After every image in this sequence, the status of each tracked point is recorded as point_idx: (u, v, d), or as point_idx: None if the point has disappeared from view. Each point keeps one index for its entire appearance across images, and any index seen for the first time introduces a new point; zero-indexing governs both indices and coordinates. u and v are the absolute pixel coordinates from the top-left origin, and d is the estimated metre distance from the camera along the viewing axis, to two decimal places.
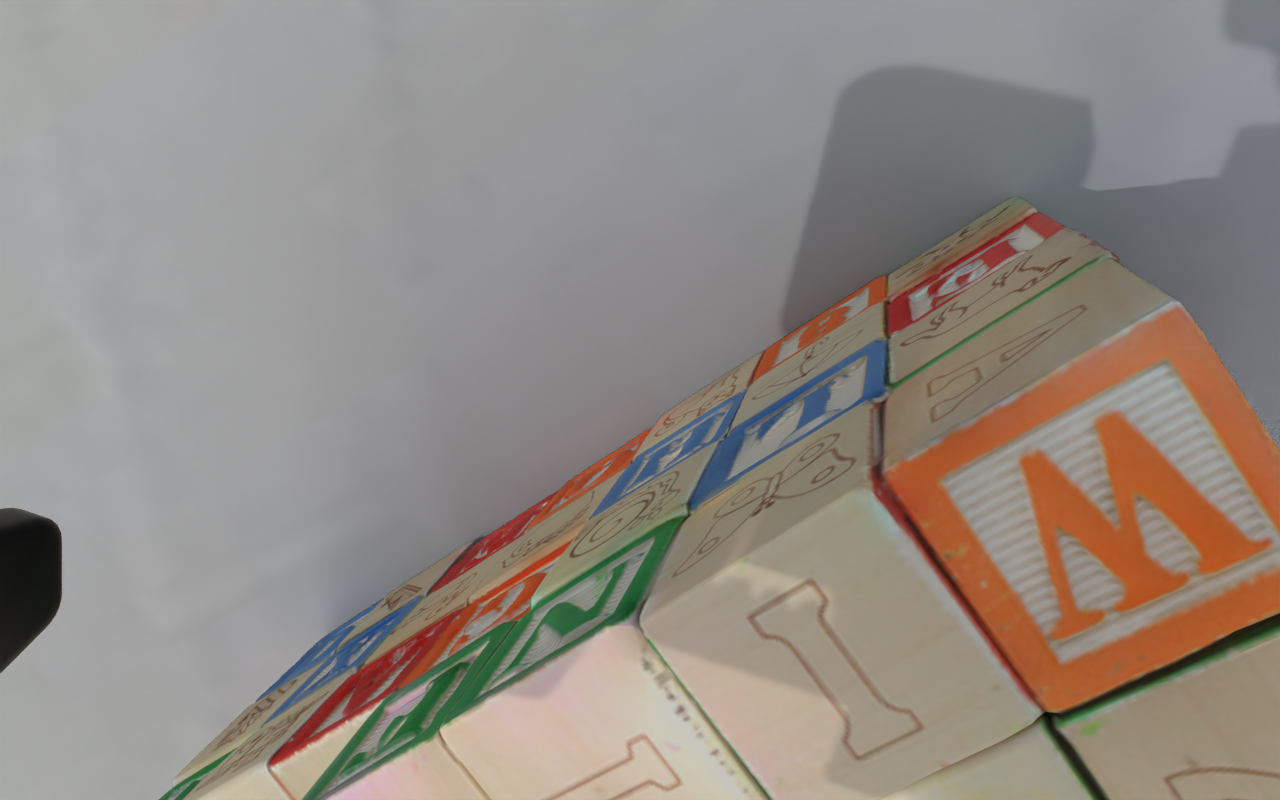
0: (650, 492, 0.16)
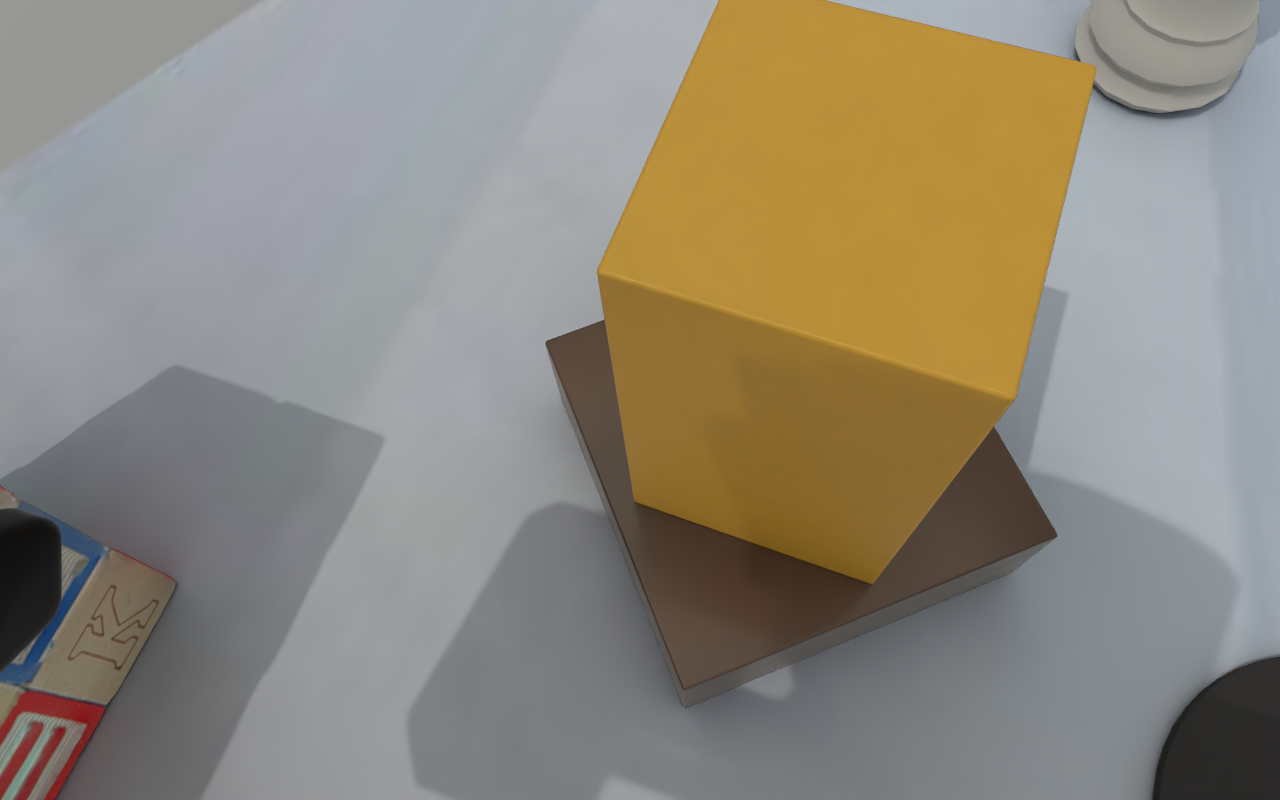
0: None
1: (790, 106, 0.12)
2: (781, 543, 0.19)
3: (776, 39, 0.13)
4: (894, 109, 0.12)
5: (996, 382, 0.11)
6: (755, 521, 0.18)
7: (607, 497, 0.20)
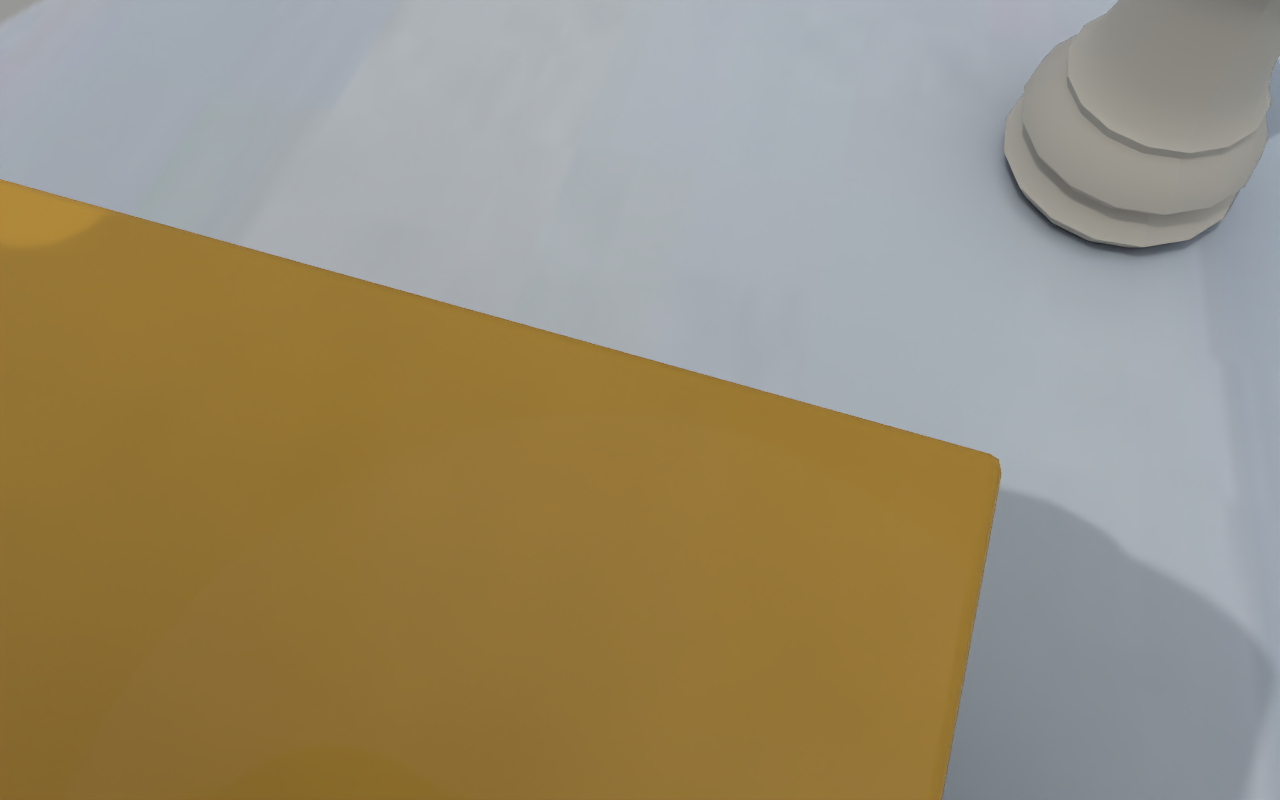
0: None
1: None
2: None
3: (8, 371, 0.04)
4: (310, 646, 0.04)
5: None
6: None
7: None
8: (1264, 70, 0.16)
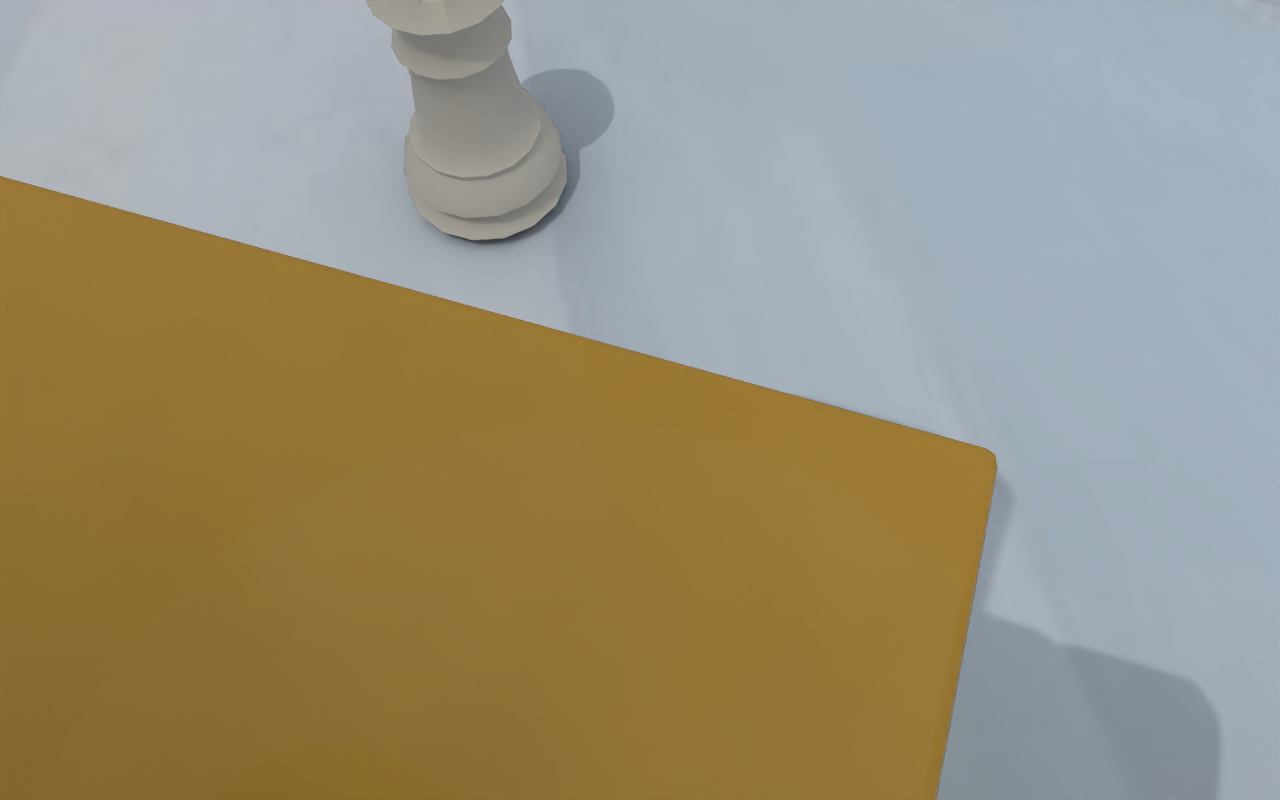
0: None
1: None
2: None
3: (4, 366, 0.04)
4: (308, 640, 0.04)
5: None
6: None
7: None
8: (505, 116, 0.24)
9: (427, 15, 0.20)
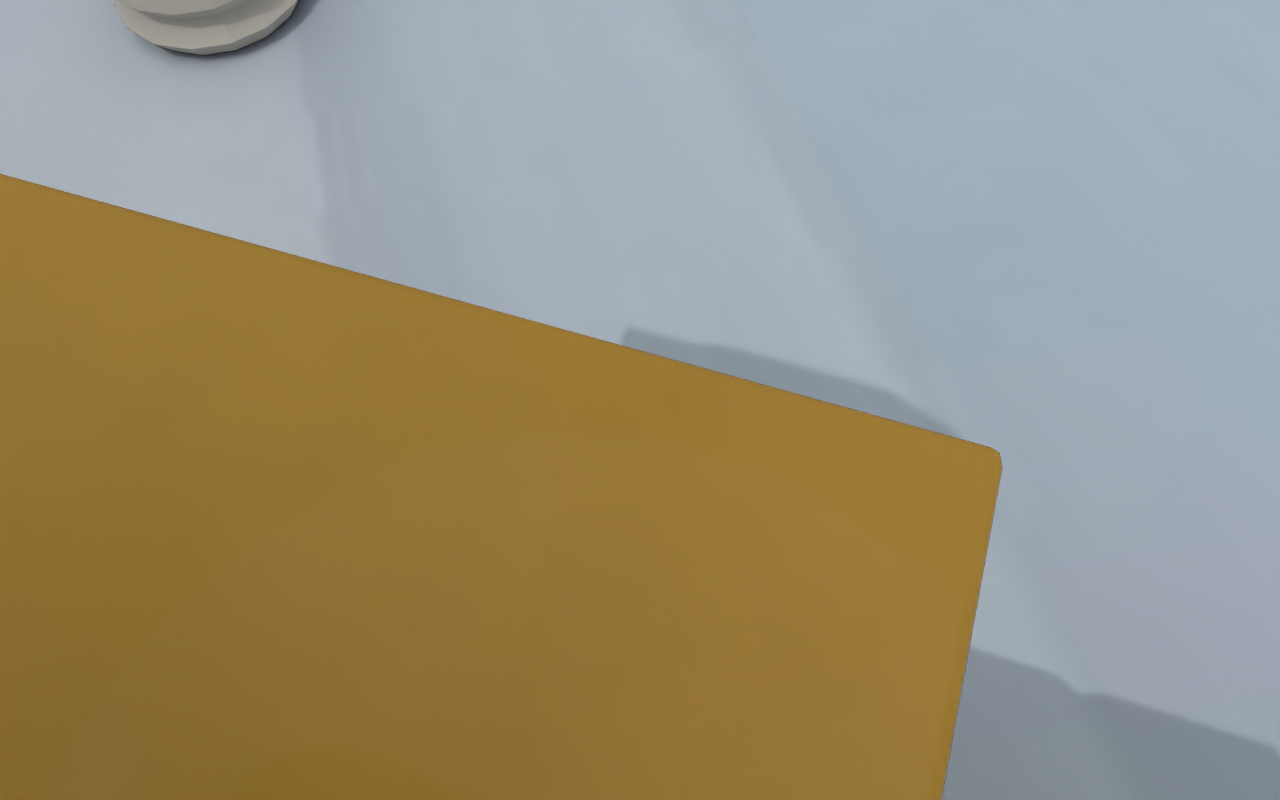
0: None
1: None
2: None
3: (9, 366, 0.04)
4: (310, 641, 0.04)
5: None
6: None
7: None
8: None
9: None
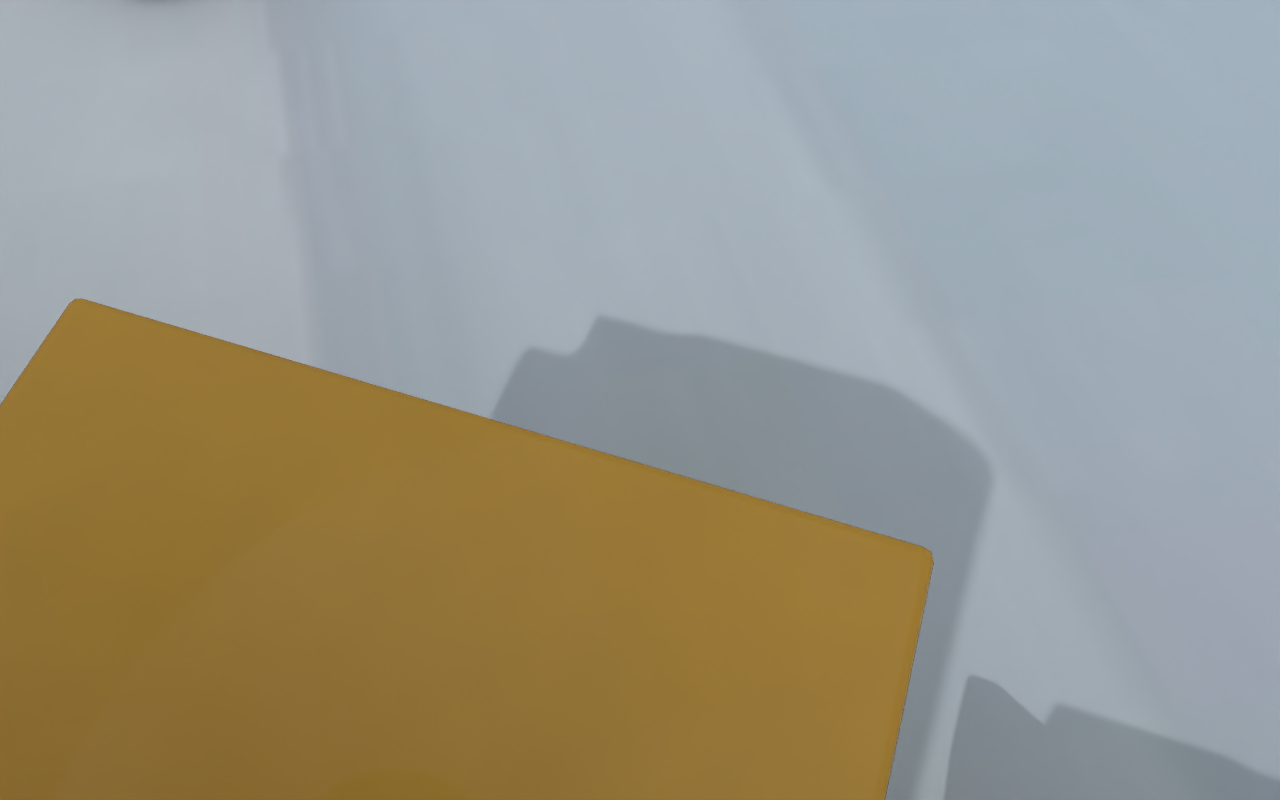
0: None
1: (113, 700, 0.05)
2: None
3: (133, 476, 0.05)
4: (390, 706, 0.05)
5: None
6: None
7: None
8: None
9: None
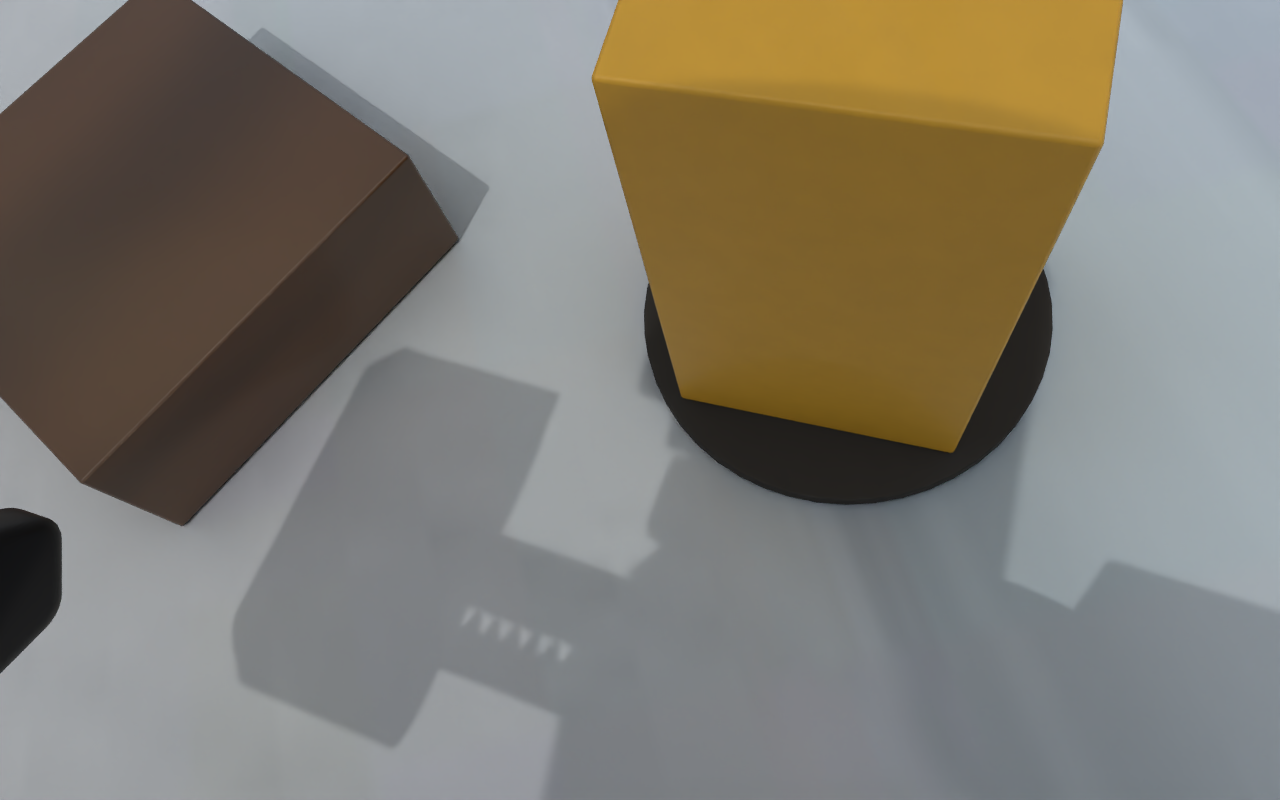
0: None
1: None
2: (846, 418, 0.17)
3: None
4: None
5: (1077, 129, 0.09)
6: (814, 395, 0.16)
7: None
8: None
9: None
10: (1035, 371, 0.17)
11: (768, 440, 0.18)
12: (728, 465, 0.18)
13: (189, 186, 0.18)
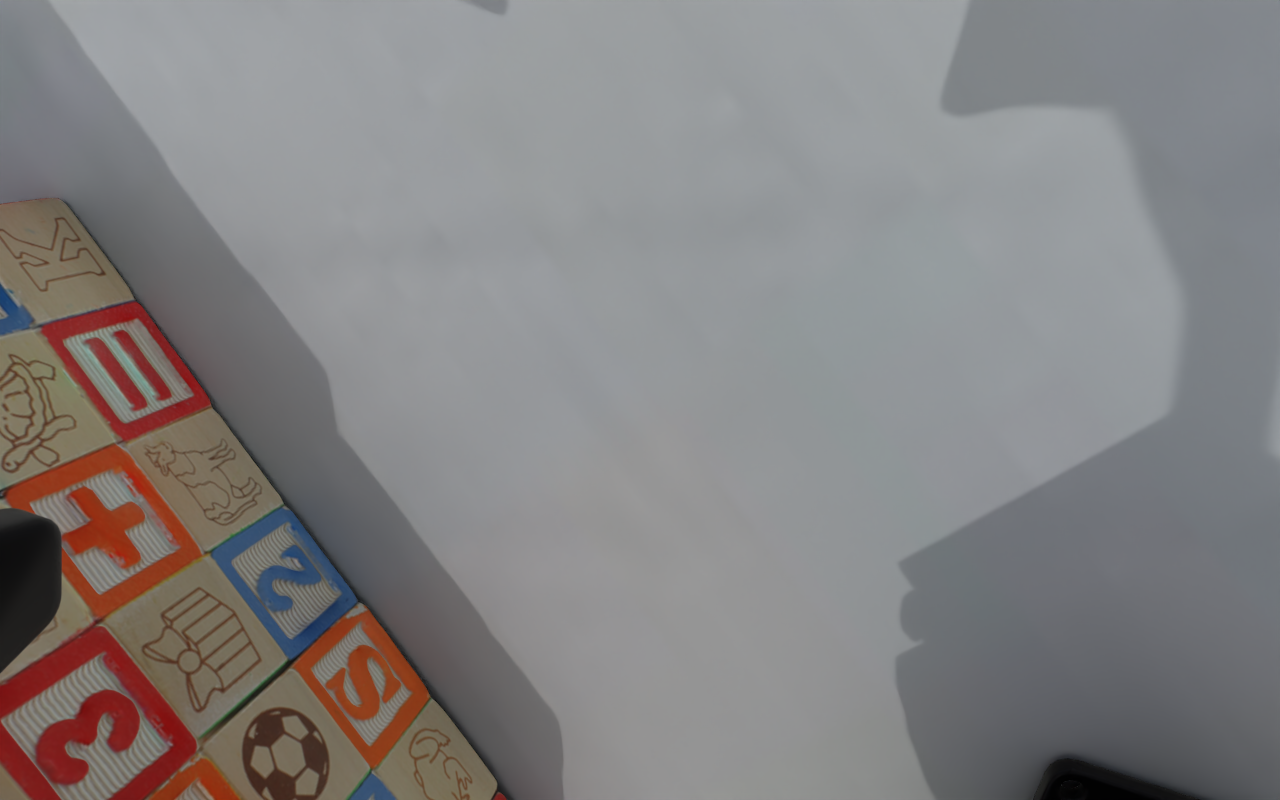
0: None
1: None
2: None
3: None
4: None
5: None
6: None
7: None
8: None
9: None
10: None
11: None
12: None
13: None
